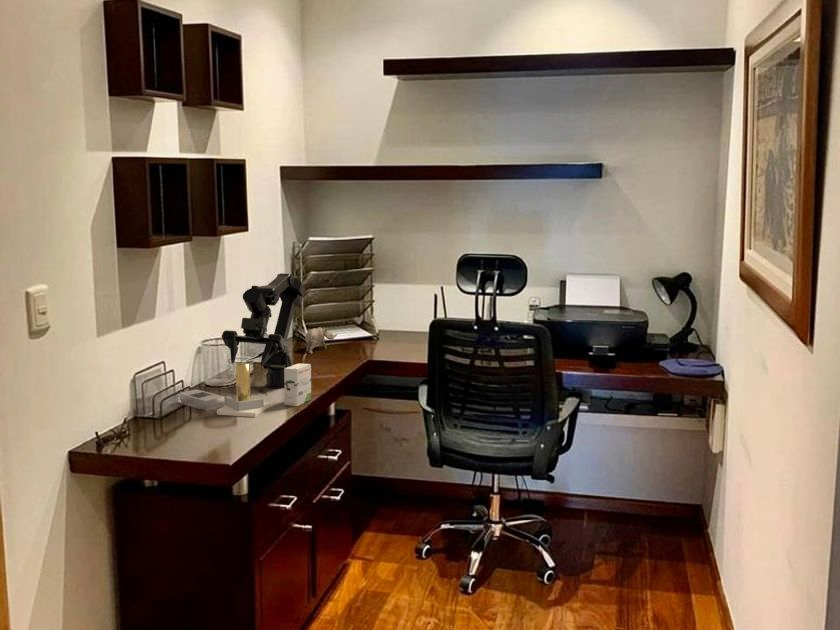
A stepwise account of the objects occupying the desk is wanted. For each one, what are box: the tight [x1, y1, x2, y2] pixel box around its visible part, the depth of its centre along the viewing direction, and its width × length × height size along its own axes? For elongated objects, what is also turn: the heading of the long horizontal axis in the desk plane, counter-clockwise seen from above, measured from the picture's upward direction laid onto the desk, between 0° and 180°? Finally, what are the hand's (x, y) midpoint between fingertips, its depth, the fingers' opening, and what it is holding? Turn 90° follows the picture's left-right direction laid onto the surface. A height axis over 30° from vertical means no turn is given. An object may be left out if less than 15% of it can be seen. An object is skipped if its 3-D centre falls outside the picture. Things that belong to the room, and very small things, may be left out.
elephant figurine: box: [304, 326, 338, 355], centre depth 343 cm, size 8×14×15 cm
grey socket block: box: [179, 389, 225, 412], centre depth 258 cm, size 14×7×3 cm, turn 52°
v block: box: [216, 395, 270, 418], centre depth 252 cm, size 12×12×4 cm
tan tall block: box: [235, 362, 252, 401], centre depth 251 cm, size 4×4×13 cm
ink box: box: [283, 363, 312, 407], centre depth 261 cm, size 9×5×12 cm, turn 156°
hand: (246, 364), depth 254 cm, fingers open, 9 cm apart
